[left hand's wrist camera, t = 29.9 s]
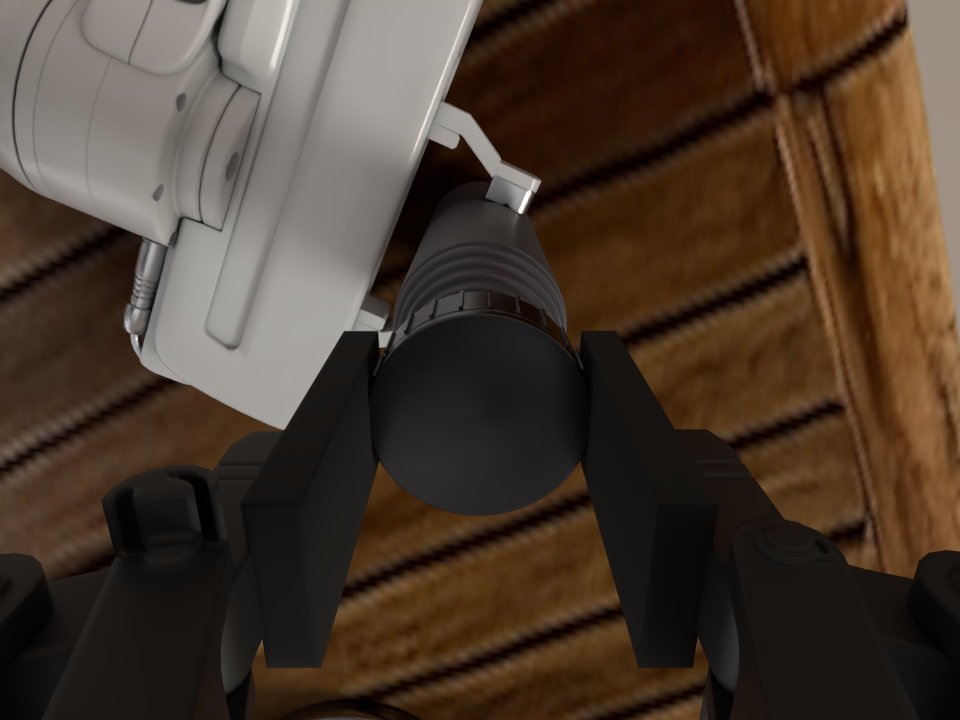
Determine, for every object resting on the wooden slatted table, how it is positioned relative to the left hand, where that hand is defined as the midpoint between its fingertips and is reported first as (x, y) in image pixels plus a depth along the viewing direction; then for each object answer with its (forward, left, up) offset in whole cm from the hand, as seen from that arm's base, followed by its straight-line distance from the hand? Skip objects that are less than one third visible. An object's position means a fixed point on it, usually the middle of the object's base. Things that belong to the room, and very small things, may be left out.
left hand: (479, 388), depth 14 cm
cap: (0, 0, +1) cm, 1 cm away
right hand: (+1, -1, -13) cm, 13 cm away
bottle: (0, 0, -19) cm, 19 cm away
